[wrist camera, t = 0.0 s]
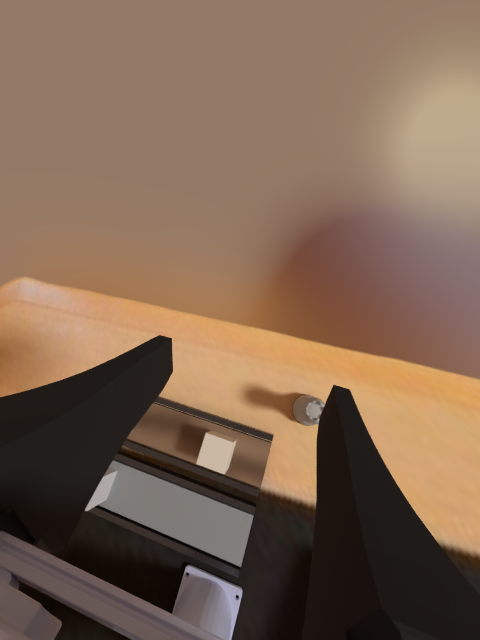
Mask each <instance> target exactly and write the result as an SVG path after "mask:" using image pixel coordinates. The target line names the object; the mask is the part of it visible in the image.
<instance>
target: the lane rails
mask: <svg viewBox="0 0 480 640" xmlns="http://www.w3.org/2000/svg"><path fill="white" fill-rule="evenodd" d="M155 402H157V403H160V404H163V405H166V406H169V407H172V408H175V409H178V410H181V411H184V412H187V413H190V414H193V415H196V416H199V417H202V418H205V419H208V420H211V421H214V422H217V423H220V424H223V425H226V426H229V427H232V428H234V429H237V430H240V431H243V432H246V433H249V434H252V435H255V436H258V437H261V438H264V439H267V440H270V441H272V439H273V434H270V433H267V432H264V431H261V430H258V429H255V428H252V427H249V426H246V425H243V424H240V423H237V422H234V421H231V420H228V419H225V418H222V417H219V416H216V415H213V414H210V413H207V412H204V411H201V410H198V409H195V408H192V407H189V406H186V405H183V404H180V403H177V402H174V401H171V400H168V399H165V398H162V397H159V396H158V397H157V398H156V400H155ZM123 446H125V447H128V448H131V449H133V450H136V451H139V452H141V453H144V454H146V455H149V456H152V457H154V458H157V459H160V460H162V461H165V462H168V463H170V464H173V465H175V466H178V467H181V468H183V469H186V470H189V471H191V472H194V473H196V474H199V475H202V476H204V477H207V478H210V479H212V480H215V481H218V482H220V483H223V484H225V485H228V486H231V487H233V488H236V489H239V490H241V491H244V492H247V493H249V494H252V495H254V496H257V497H258V496H259V492H260V488H259V487H257V486H254V485H251V484H249V483H246V482H243V481H241V480H238V479H235V478H233V477H230V476H227V475H225V474H222V473H219V472H216V471H214V470H211V469H208V468H206V467H203V466H200V465H198V464H195V463H192V462H190V461H187V460H184V459H182V458H179V457H176V456H174V455H171V454H168V453H166V452H163V451H160V450H158V449H155V448H152V447H149V446H147V445H144V444H141V443H139V442H136V441H133V440H131V439H128V438H126V440H125V442H124V443H123ZM114 459H116V460H118V461H121V462H123V463H126V464H128V465H131V466H133V467H136V468H139V469H141V470H144V471H146V472H149V473H151V474H154V475H156V476H159V477H161V478H164V479H167V480H169V481H172V482H174V483H177V484H179V485H182V486H184V487H187V488H189V489H192V490H195V491H197V492H200V493H202V494H205V495H207V496H210V497H212V498H215V499H217V500H220V501H223V502H225V503H228V504H230V505H233V506H235V507H238V508H240V509H243V510H245V511H248V512H251V513H253V514H254V512H255V508H256V504H255V503H253V502H250V501H247V500H245V499H242V498H240V497H237V496H234V495H232V494H229V493H227V492H224V491H221V490H219V489H216V488H214V487H211V486H209V485H206V484H203V483H201V482H198V481H196V480H193V479H190V478H188V477H185V476H183V475H180V474H177V473H175V472H172V471H170V470H167V469H164V468H162V467H159V466H157V465H154V464H151V463H149V462H146V461H144V460H141V459H138V458H136V457H133V456H131V455H128V454H125V453H123V452H120V451H118V453H117V455H116V456H115V458H114ZM88 512H91V513H93V514H95V515H97V516H100V517H102V518H104V519H106V520H109V521H111V522H113V523H115V524H118V525H120V526H122V527H124V528H127V529H129V530H131V531H134V532H136V533H138V534H140V535H143V536H145V537H147V538H149V539H152V540H154V541H156V542H158V543H161V544H163V545H165V546H167V547H170V548H172V549H174V550H176V551H179V552H181V553H183V554H185V555H188V556H190V557H192V558H195V559H197V560H199V561H201V562H204V563H206V564H208V565H210V566H213V567H215V568H217V569H219V570H222V571H224V572H226V573H228V574H231V575H233V576H235V577H237V578H238V577H239V573H240V568H241V567H240V566H237V565H235V564H233V563H230V562H228V561H226V560H224V559H221V558H219V557H217V556H214V555H212V554H210V553H207V552H205V551H203V550H201V549H198V548H196V547H194V546H191V545H189V544H187V543H184V542H182V541H180V540H177V539H175V538H173V537H171V536H168V535H166V534H164V533H161V532H159V531H157V530H154V529H152V528H150V527H148V526H145V525H143V524H141V523H138V522H136V521H134V520H131V519H129V518H127V517H124V516H122V515H120V514H118V513H115V512H113V511H111V510H108V509H106V508H104V507H101V506H99V505H97V506H95V507H93V508H91V509H90V510H88Z"/></svg>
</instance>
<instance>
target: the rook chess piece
mask: <svg viewBox="0 0 480 640" xmlns="http://www.w3.org/2000/svg"><path fill="white" fill-rule="evenodd" d="M324 406H325V403H324V402H323V401H322V400H320V399H318V398H315V397H314V396H310V395H302V396H300V397H298V398H297V399H296V400H295V402H294V404H293V408H292V409H293V415H294V417H295V418H296V420H297V421H298V422H300V423H301V424H303V425H306V426H309V425H315V424H319V418H320V415H321V413H322V411H323V408H324Z"/></svg>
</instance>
